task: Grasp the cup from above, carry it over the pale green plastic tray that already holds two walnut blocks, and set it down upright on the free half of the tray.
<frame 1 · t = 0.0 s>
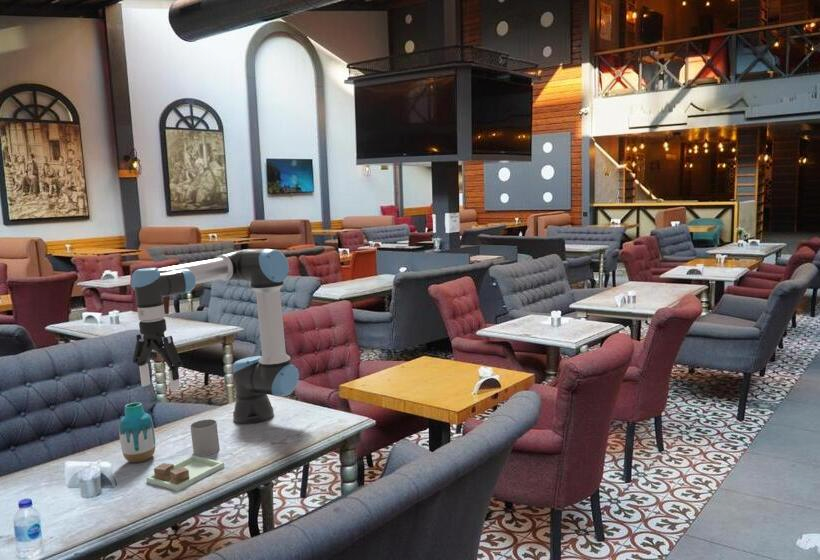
hand: (160, 387, 204), 28 cm above the table, fingers open, 13 cm apart
block a: (165, 478, 204), point 1 cm above the table, touching tray
cup: (206, 452, 224), on the table
block b: (180, 482, 200), point 1 cm above the table, touching tray
vase: (140, 461, 221), on the table
tray: (186, 476, 206), on the table
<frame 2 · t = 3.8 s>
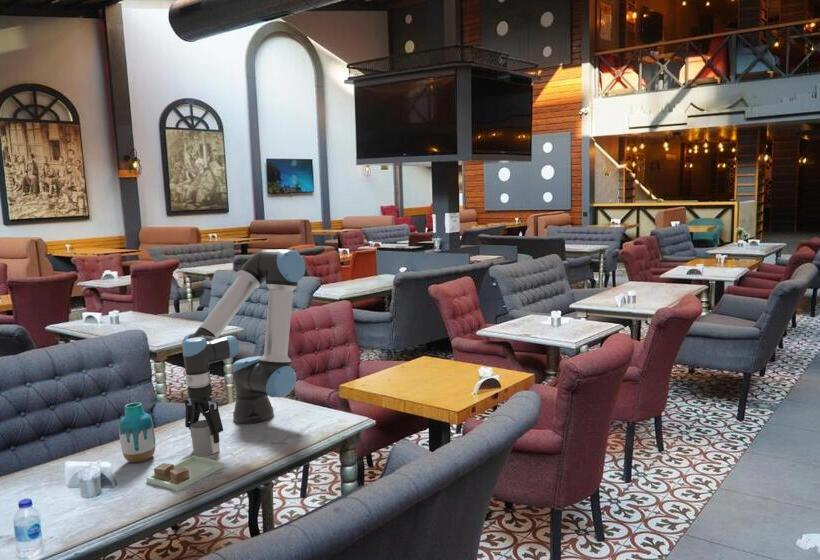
hand: (206, 449, 224), 1 cm above the table, fingers closed on cup, 8 cm apart
cup: (206, 452, 224), on the table, touching gripper
everything else where it was.
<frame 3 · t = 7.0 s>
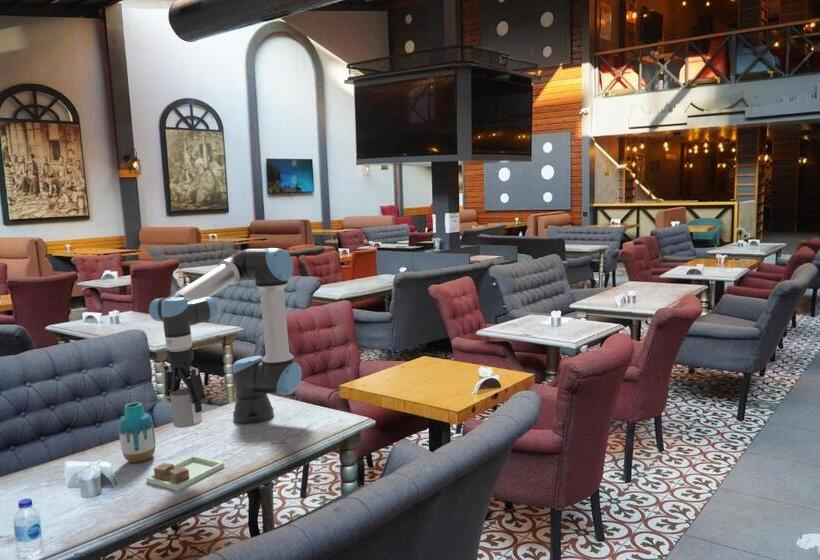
hand: (187, 420, 206), 17 cm above the table, fingers closed on cup, 8 cm apart
cup: (188, 423, 206), point 16 cm above the table, touching gripper
everything else where it was.
when the fingers open (3 cm above the table, at t = 10.3 s): cup drops 1 cm, resting on tray.
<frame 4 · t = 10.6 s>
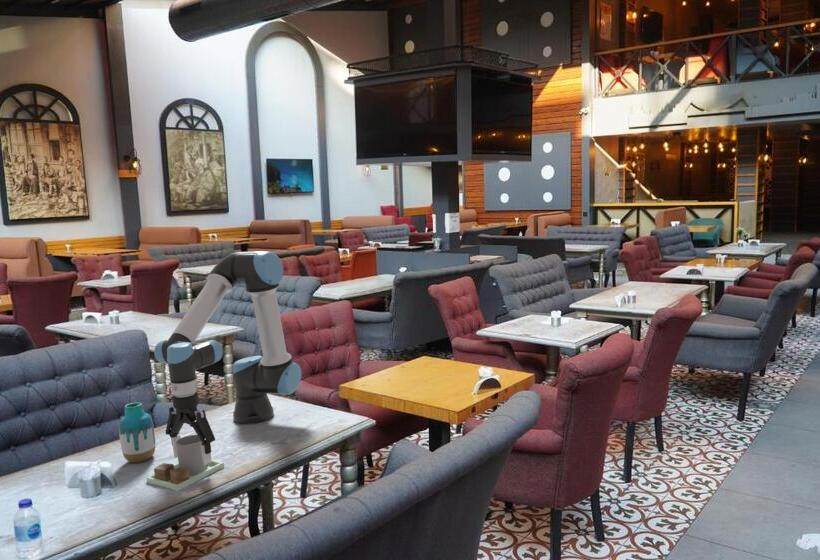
hand: (192, 459, 208), 4 cm above the table, fingers open, 13 cm apart
cup: (194, 470, 209), resting on tray
everything else where it was.
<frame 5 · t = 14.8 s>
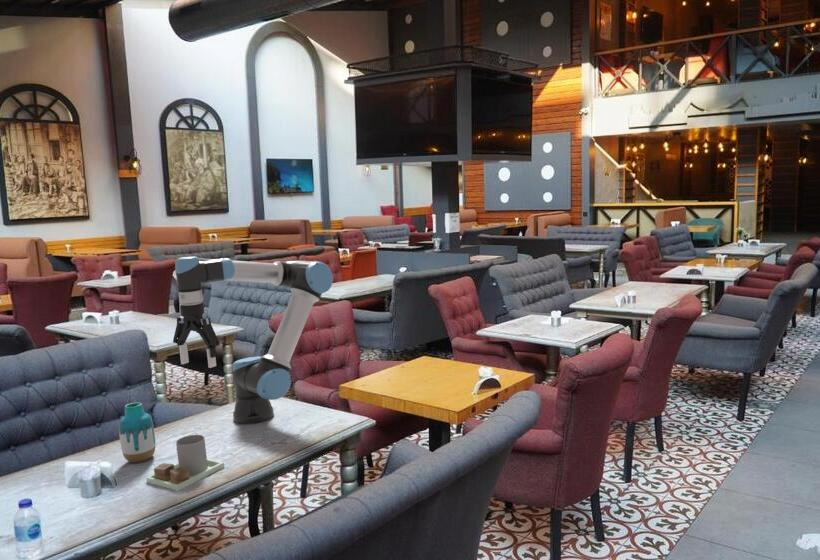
hand: (198, 365, 226), 29 cm above the table, fingers open, 13 cm apart
nothing on the table moved.
at the end: cup inside the target area on the tray (0.2 cm from its centre), point 0.4 cm above the tray's base; cup tilted 0°; the gripper is holding nothing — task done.
